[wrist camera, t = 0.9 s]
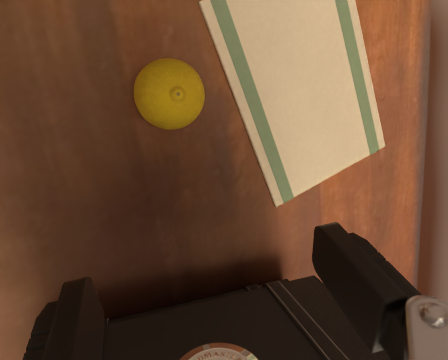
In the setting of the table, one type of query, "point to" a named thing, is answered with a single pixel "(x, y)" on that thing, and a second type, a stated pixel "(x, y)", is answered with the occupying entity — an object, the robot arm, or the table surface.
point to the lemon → (169, 93)
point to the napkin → (298, 86)
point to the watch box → (242, 327)
